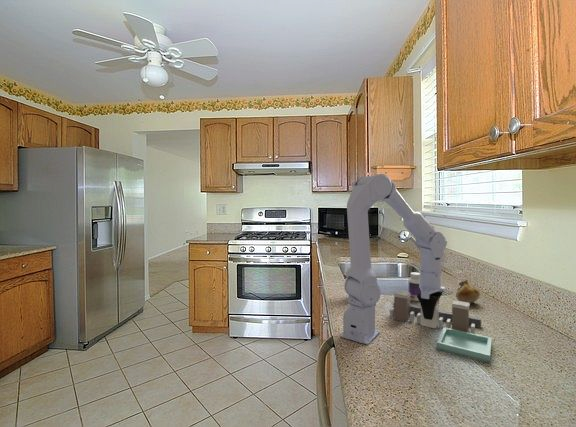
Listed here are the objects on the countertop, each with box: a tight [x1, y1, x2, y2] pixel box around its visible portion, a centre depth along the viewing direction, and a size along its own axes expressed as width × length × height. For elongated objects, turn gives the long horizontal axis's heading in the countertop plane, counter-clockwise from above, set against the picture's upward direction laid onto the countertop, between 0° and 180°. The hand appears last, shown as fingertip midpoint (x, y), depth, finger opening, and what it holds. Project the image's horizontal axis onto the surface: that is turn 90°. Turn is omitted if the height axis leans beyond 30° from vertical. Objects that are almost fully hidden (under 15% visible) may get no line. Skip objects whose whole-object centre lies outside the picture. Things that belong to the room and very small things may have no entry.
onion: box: [455, 279, 481, 305], centre depth 108 cm, size 8×8×8 cm
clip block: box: [389, 302, 482, 334], centre depth 92 cm, size 9×25×2 cm, turn 54°
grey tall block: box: [420, 296, 440, 329], centre depth 89 cm, size 4×4×8 cm
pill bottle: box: [407, 271, 421, 302], centre depth 112 cm, size 5×5×10 cm
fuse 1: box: [393, 290, 411, 323], centre depth 94 cm, size 4×4×8 cm
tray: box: [435, 326, 493, 364], centre depth 76 cm, size 11×11×2 cm
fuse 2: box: [451, 300, 471, 333], centre depth 85 cm, size 4×4×8 cm
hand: (429, 316), depth 89 cm, fingers closed on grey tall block, 4 cm apart
